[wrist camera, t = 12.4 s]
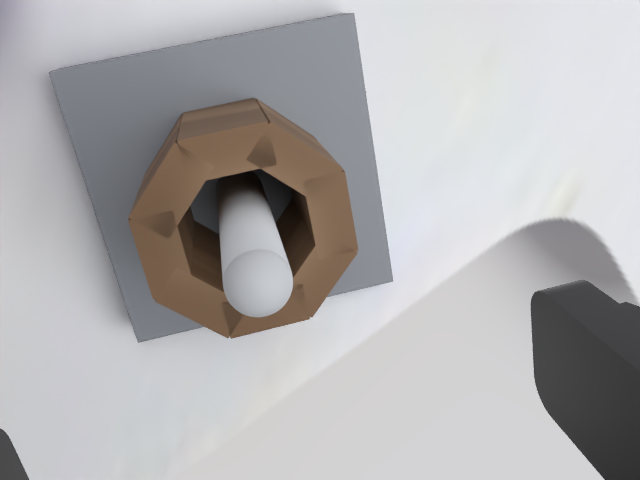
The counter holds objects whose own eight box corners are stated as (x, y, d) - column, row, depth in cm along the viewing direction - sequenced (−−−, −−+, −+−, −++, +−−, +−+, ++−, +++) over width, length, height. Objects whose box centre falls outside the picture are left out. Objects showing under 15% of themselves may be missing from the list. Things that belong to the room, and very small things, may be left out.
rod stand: (59, 68, 21) (-72, 116, 11) (344, 13, 22) (459, 11, 12) (141, 324, 24) (99, 530, 15) (383, 266, 25) (494, 424, 16)
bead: (129, 123, 20) (107, 155, 16) (305, 86, 21) (333, 106, 16) (177, 284, 23) (170, 353, 18) (335, 246, 23) (367, 304, 18)
